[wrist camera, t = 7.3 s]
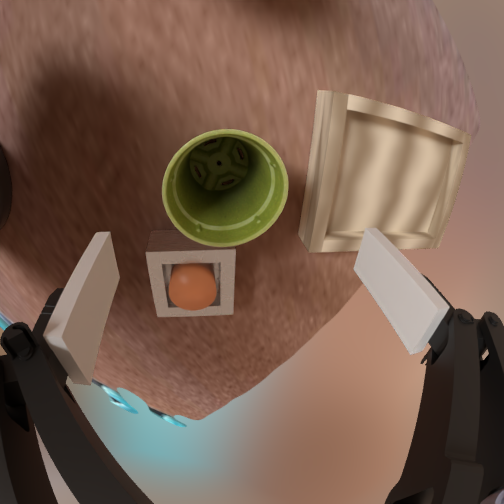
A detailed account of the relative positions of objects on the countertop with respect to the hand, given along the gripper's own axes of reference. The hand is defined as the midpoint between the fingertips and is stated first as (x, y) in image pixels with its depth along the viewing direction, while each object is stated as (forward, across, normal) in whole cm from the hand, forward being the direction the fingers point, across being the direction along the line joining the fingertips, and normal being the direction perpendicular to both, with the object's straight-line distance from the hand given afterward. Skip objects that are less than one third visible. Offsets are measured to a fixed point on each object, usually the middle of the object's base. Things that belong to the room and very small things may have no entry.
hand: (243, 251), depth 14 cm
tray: (+17, +20, 0) cm, 26 cm away
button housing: (+16, -3, -12) cm, 21 cm away
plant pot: (+17, 0, 0) cm, 17 cm away
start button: (+14, -3, -12) cm, 19 cm away
